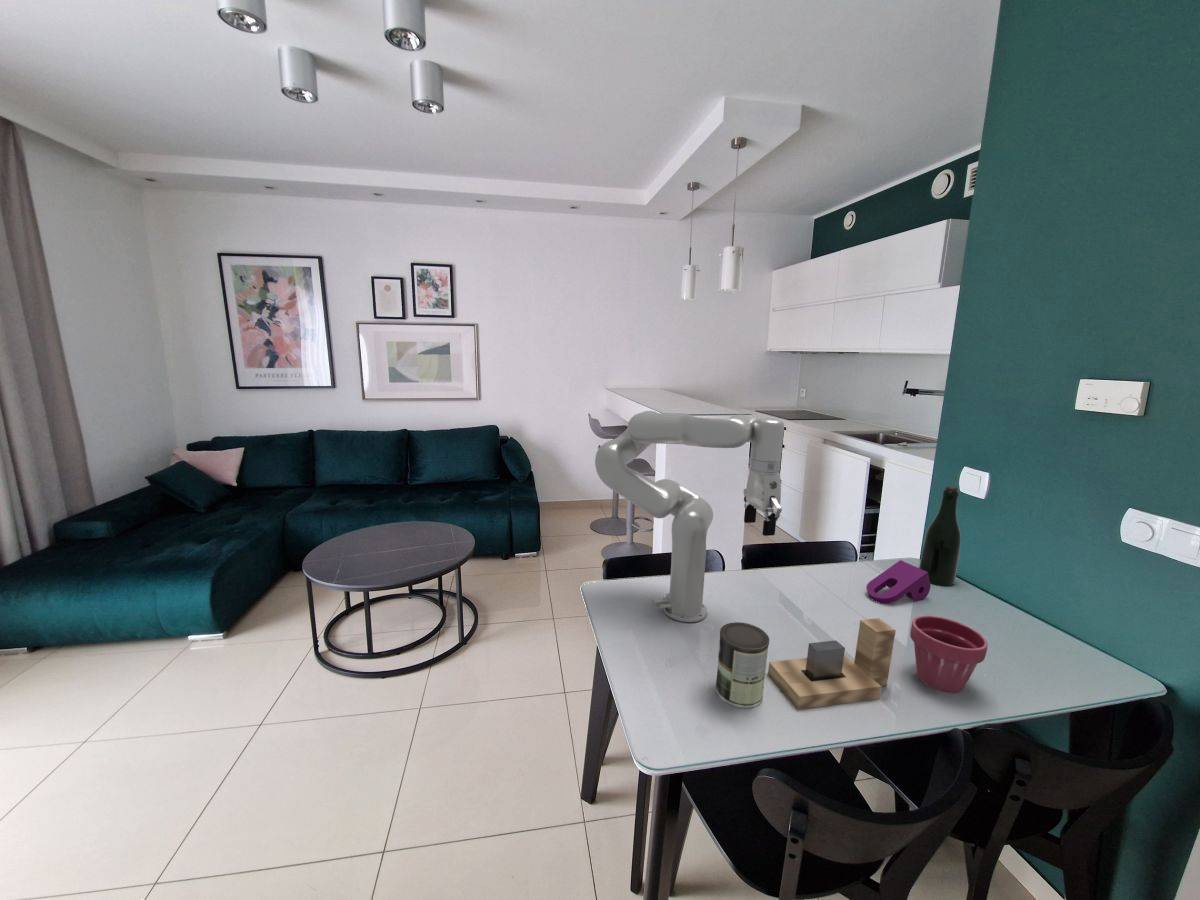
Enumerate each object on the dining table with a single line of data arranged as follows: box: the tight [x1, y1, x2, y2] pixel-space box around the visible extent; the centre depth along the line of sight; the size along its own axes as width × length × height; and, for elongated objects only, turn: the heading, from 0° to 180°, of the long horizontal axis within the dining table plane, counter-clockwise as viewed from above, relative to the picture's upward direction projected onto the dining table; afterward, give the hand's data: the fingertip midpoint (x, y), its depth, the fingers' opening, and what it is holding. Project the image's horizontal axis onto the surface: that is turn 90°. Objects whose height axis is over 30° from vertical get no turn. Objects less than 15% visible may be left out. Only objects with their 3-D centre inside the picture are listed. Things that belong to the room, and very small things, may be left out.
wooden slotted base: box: [767, 617, 897, 710], centre depth 111 cm, size 25×12×14 cm, turn 102°
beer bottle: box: [918, 485, 962, 587], centre depth 165 cm, size 10×10×33 cm
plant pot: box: [909, 615, 989, 694], centre depth 114 cm, size 14×14×13 cm
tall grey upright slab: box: [805, 640, 846, 682], centre depth 111 cm, size 7×3×10 cm, turn 102°
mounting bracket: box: [865, 559, 931, 605], centre depth 156 cm, size 10×8×18 cm
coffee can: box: [714, 621, 770, 709], centre depth 107 cm, size 10×10×14 cm
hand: (758, 528), depth 131 cm, fingers open, 9 cm apart
